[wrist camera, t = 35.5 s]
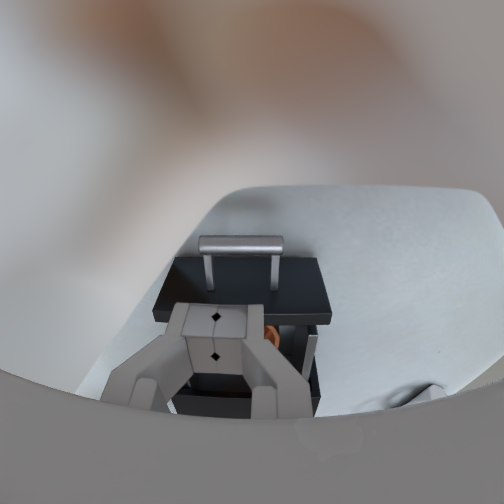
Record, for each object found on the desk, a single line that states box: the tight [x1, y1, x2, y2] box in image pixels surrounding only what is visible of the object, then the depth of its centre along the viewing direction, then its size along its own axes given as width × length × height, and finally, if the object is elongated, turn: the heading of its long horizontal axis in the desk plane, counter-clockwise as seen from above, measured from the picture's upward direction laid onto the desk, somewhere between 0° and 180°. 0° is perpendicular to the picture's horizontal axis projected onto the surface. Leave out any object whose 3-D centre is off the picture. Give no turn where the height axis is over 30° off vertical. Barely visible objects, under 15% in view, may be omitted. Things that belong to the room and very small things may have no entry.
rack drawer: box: [152, 235, 332, 392], centre depth 27 cm, size 18×13×8 cm
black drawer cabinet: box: [171, 356, 321, 419], centre depth 33 cm, size 15×15×10 cm
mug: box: [403, 385, 448, 406], centre depth 40 cm, size 12×10×8 cm
